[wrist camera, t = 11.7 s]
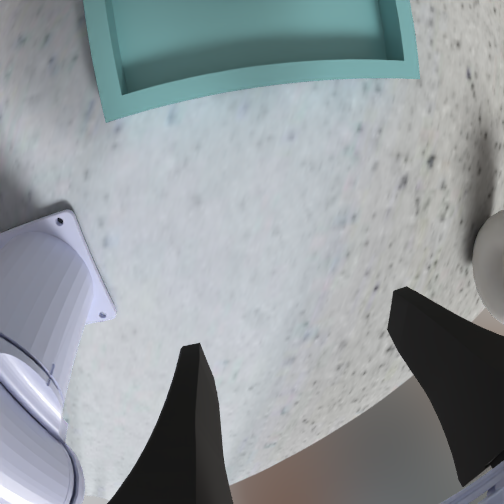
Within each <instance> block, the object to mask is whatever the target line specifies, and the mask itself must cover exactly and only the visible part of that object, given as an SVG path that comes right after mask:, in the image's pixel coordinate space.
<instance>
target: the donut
mask: <svg viewBox="0 0 504 504" xmlns="http://www.w3.org/2000/svg"><path fill="white" fill-rule="evenodd" d="M472 264H473V276H474V280H475V284H476V288H477V291H478V293H479V296H480V298H481V300H482V302H483V304H484V305H485V307H486V308H487V310H488V311H489V312H490V314H491V315H492V316H493V317H494V318H495V319H497V320H498V321H499V322H500V323H502V324H504V210H501V211H499V212H498V213H496V214H494V215H493V216H491V217H489V218H488V219H487V220H486V222H485V223H484V224H483V226H482V227H481V229H480V230H479V232H478V235H477V237H476V240H475V243H474V249H473V259H472Z"/></svg>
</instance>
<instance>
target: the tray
mask: <svg viewBox="0 0 504 504" xmlns="http://www.w3.org/2000/svg"><path fill="white" fill-rule="evenodd" d="M83 4H84V12H85V19H86V26H87V32H88V38H89V44H90V50H91V56H92V61H93V66H94V71H95V76H96V81H97V86H98V91H99V95H100V100H101V104H102V108H103V113H104V117H105V121H106V123H107V122H110V121H113V120H116V119H119V118H123V117H126V116H129V115H133V114H136V113H139V112H143V111H147V110H150V109H154V108H158V107H162V106H165V105H169V104H174V103H178V102H182V101H186V100H191V99H195V98H200V97H205V96H210V95H215V94H220V93H225V92H231V91H237V90H243V89H249V88H256V87H263V86H270V85H278V84H287V83H296V82H307V81H319V80H334V79H357V78H405V79H420V73H419V63H418V53H417V45H416V37H415V30H414V24H413V18H412V12H411V6H410V1H409V0H83Z"/></svg>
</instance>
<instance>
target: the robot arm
mask: <svg viewBox="0 0 504 504" xmlns="http://www.w3.org/2000/svg"><path fill="white" fill-rule="evenodd" d="M58 218H61V219H62V220H63V223H60V222H59V221H58ZM101 312H103V313H105V314H106V315H103V314H101ZM116 314H117V310H116V308H115V306H114V304H113V302H112V300H111V298H110V295H109V293H108V291H107V289H106V287H105V285H104V283H103V281H102V278H101V276H100V274H99V272H98V270H97V267H96V265H95V263H94V261H93V258H92V256H91V254H90V251H89V249H88V246H87V244H86V242H85V239H84V237H83V234H82V232H81V229H80V226H79V224H78V221H77V219H76V216H75V214H74V212H73V211H71V210H69V209H65V210H62V211H59V212H56V213H53V214H51V215H48V216H45V217H42V218H39V219H36V220H34V221H31V222H28V223H25V224H23V225H20V226H17V227H15V228H12V229H9V230H7V231H4V232H2V233H0V504H82V503H83V500H84V493H85V479H84V474H83V470H82V467H81V464H80V462H79V460H78V458H77V456H76V454H75V453H74V452H73V451H72V449H71V448H70V447H69V446H68V445H67V444H66V443H65V441H66V434H67V428H68V423H67V422H66V421H65V420H64V418H63V415H62V412H63V407H64V402H65V397H66V393H67V389H68V385H69V381H70V376H71V373H72V369H73V365H74V361H75V357H76V354H77V350H78V347H79V343H80V340H81V336H82V333H83V330H84V326H85V324H90V323H95V322H100V321H106V320H111V319H114V318H115V317H116ZM387 330H388V332H389V334H390V336H391V338H392V340H393V342H394V344H395V346H396V348H397V350H398V352H399V353H400V355H401V356H402V358H403V359H404V361H405V362H406V364H407V365H408V367H409V368H410V370H411V371H412V373H413V374H414V376H415V377H416V379H417V380H418V382H419V383H420V385H421V386H422V388H423V389H424V391H425V392H426V394H427V396H428V398H429V399H430V401H431V403H432V405H433V408H434V410H435V412H436V414H437V416H438V418H439V420H440V423H441V425H442V428H443V430H444V433H445V435H446V438H447V441H448V444H449V447H450V449H451V452H452V455H453V459H454V463H455V467H456V471H457V475H458V479H459V481H460V483H461V485H462V487H464V486H465V485H467V484H468V483H470V482H471V481H473V480H475V479H476V478H477V477H479V476H480V475H482V474H483V473H484V472H486V471H487V470H489V469H490V468H491V467H492V468H493V469H492V470H490V471H489V472H488V473H486V474H485V475H483V476H482V477H481V478H479V479H478V480H476V481H475V482H473V483H472V484H470V485H469V486H467V487H466V488H464V489H463V490H461V491H460V492H458V493H456V494H455V495H453V496H452V497H450V498H448V499H447V500H445V501H443V502H441V503H440V504H469V503H470V502H471V501H473V500H474V499H476V498H477V497H479V496H480V495H482V494H483V493H484V492H486V491H487V490H488V492H487V497H486V498H485V499H483V500H482V501H480V502H479V503H477V504H504V336H501V335H499V334H496V333H494V332H491V331H489V330H486V329H484V328H482V327H480V326H477V325H476V324H473V323H472V322H470V321H468V320H466V319H464V318H462V317H460V316H458V315H456V314H454V313H453V312H451V311H449V310H447V309H445V308H444V307H442V306H440V305H438V304H437V303H435V302H433V301H432V300H430V299H428V298H426V297H425V296H423V295H421V294H419V293H418V292H416V291H414V290H412V289H410V288H408V287H404V288H401V289H398V290H395V291H393V297H392V304H391V311H390V317H389V323H388V329H387ZM107 504H233V500H232V497H231V492H230V488H229V483H228V479H227V474H226V470H225V464H224V457H223V446H222V435H221V423H220V411H219V402H218V396H217V391H216V386H215V381H214V377H213V375H212V372H211V370H210V367H209V365H208V362H207V360H206V357H205V355H204V352H203V350H202V347H201V345H200V343H197V344H192V345H187V346H183V347H182V348H181V350H180V354H179V358H178V362H177V366H176V370H175V373H174V377H173V380H172V383H171V386H170V389H169V392H168V395H167V398H166V401H165V403H164V406H163V408H162V411H161V413H160V416H159V419H158V421H157V423H156V426H155V428H154V430H153V432H152V434H151V436H150V438H149V440H148V442H147V444H146V446H145V448H144V450H143V452H142V454H141V455H140V457H139V459H138V461H137V462H136V464H135V466H134V467H133V469H132V471H131V472H130V474H129V475H128V477H127V478H126V479H125V481H124V482H123V484H122V485H121V487H120V488H119V489H118V491H117V492H116V494H115V495H114V496H113V497H112V499H111V500H110V501H109V502H108V503H107Z"/></svg>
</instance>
